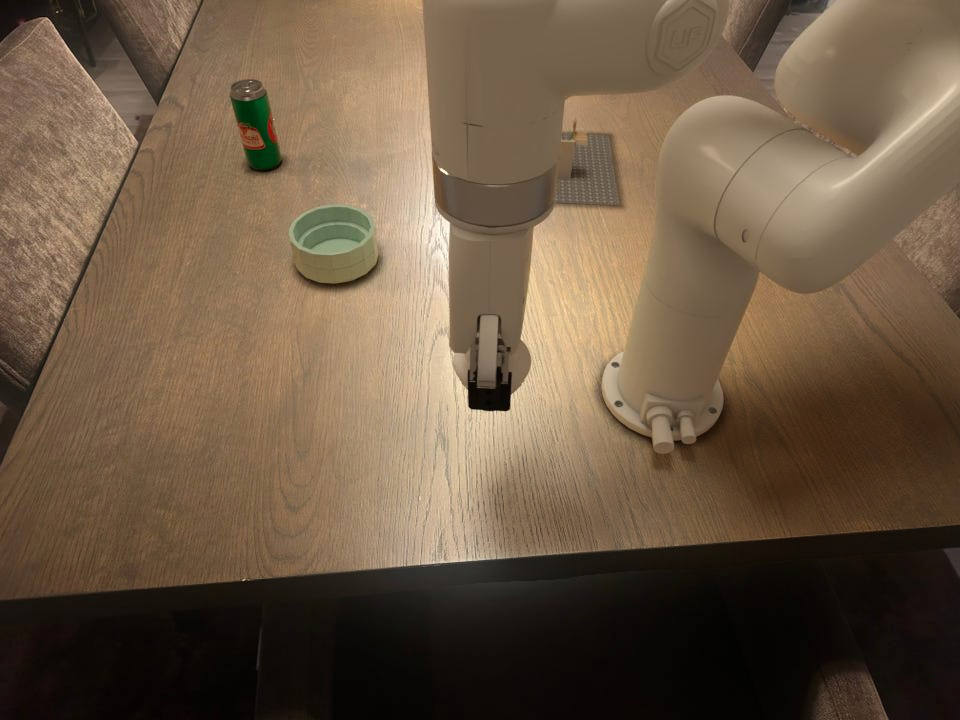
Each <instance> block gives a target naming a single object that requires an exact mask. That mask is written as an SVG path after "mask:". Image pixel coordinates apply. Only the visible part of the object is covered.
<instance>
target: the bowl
mask: <svg viewBox="0 0 960 720" xmlns="http://www.w3.org/2000/svg"><path fill="white" fill-rule="evenodd" d="M287 233H288V238H289V241H290V242H289V243H290V246H291V250H292V255H293V259H294V263H295V268H296V270H297V271H298V272H299V273H300V274H301V275H302V276H304V277H305V278H306V279H309V280H312V281H314V282H317V283H320V284H334V285H335V284H342V283H347V282H352V281H355V280H356V279H358V278H361V277H363V276H365V275H366V274H368V273H369V272H370V271H371V270H372V269H373V268H374V267H375V266H376V265H377V261H378V258H379V245H378V244H379V243H378V235H377V227H376V224H375V220H374V218H373V216H372V215H371V214H369V213H368V212H367V211H365V210H364V209H362V208H359V207H357V206H353V205H350V204H341V203H340V204H338V203H332V204H331V203H330V204H326V205H320V206H316V207H313V208H311V209H309V210H306V211H303V212H302V213H301V214H300V215H298V216H297V217H296V218H295V219H294V220H292V222H291V224H290V225H289V228H288V230H287Z"/></svg>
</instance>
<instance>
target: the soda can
mask: <svg viewBox="0 0 960 720" xmlns="http://www.w3.org/2000/svg"><path fill="white" fill-rule="evenodd" d="M229 99H230V103H231V106H232V110H233V113H234V118H235V122H236V125H237V129H238V132H239V138H240V142H241V144H242V147H243V153H244V156H245V160H246V162H247V165H248V166H249V167H250V168H252V169H254V170H256V171H270V170H273V169H275V168H277V167H278V166H279V165H280V164H281V162H282V159H283V158H282V154H281V148H280V145H279V140H278V136H277V130H276V125H275V122H274V117H273V113H272V112H273V111H272V108H271V103H270V100H269V95H268V90H267V89H266V88H265V87H264V85H263V82H262V81H260V80H258V79H254V78H253V79H252V78H246V79H240V80H237V81H235V82H233V83H231V85H230V92H229Z"/></svg>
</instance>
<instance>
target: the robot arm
mask: <svg viewBox="0 0 960 720" xmlns="http://www.w3.org/2000/svg"><path fill="white" fill-rule="evenodd" d="M421 3H422V17H423V33H424V47H425V49H424V50H425V60H426V61H425V65H426V78H427V79H426V80H427V93H428V94H427V96H428V110H429V129H430V143H431V165H432V181H433V196H434V197H433V198H434V199H433V200H434V205H435V208H436V210H437V212H438V213H439V214H440V216H441V217H442V218H443V219H444V220H445V221H447V222H448V223H449V237H448V308H449V309H448V310H449V311H448V315H449V316H448V317H449V318H448V319H449V320H448V321H449V324H448V325H449V327H448V328H449V331H448V332H449V335H448V337H449V338H448V339H449V340H448V341H449V343H448V344H449V345H448V346H449V348H450V349H451V352H453V353H463V354H466V353H467V352H468V350H469V348H470V370H468V390H467V406H468V409H470V410H473V411H484V412H509V411H510V410H511V402H512V401H511V398H512V395H511V382H512V372H509V353H510V356H512V355H513V354H515V353H516V352H517V351H518V350H519V345H520V339H521V340H522V332H523V327H524V320H525V315H526V306H527V299H528V292H529V283H530V275H531V265H532V254H533V243H534V227H536V226H538V225H539V224H542V223H543V222H544V221H545V220H546V219H548V218H549V216H550V215H551V214H552V213H553V210H554V209H555V205H556V203H555V200H556V188H557V177H558V167H559V155H560V147H561V136H562V134H563V125H564V124H563V123H564V113H565V103H566V101H567V100H568V99H571V98H572V97H584V96H585V97H586V96H604V95H605V96H607V95H611V96H612V95H632V94H633V95H634V94H641V93H647V92H648V93H649V92H653V91H656V90H660V89H663V88H665V87H669V86H670V85H673V84H675V83H677V82H679V81H681V80H683V79H685V78H687V77H688V76H689V75H691V74H692V73H693V72H694V71H695V70H696V69H698V68H699V67H700V66H701V65H702V64H703V63H704V62H705V61H706V60H707V59H708V58H709V56H711V54H712V53H713V51H714V50H715V48H716V47H717V45H718V43H719V42H720V40H721V38H722V35H723V33H724V30H725V29H726V25H727V22H728V18H729V17H728V16H729V12H730V0H422V1H421ZM773 80H774V82H773V87H774V88H773V89H774V92H775V95H776V97H777V100H778V102H779V103H780V105H781V106H782V107H783V108H784V109H785V110H786V111H787V112H788V113H789V114H790V115H791V116H792V117H794V118H795V119H796V120H797V121H799V122H800V123H802V124H804V125H805V126H806V127H808V128H809V129H811V130H813V131H815V132H817V133H819V134H820V135H822V136H823V137H824V138H827V139H829V140H830V141H832V142H833V143H835V144H837V145H839V146H841V147H843V148H845V150H848V151H849V152H852V153H853V154H855V155H857V156H852V155H850V154H849V153H847V152H846V151H844V150H842V149H840V148H839V147H837V146H835V145H834V144H832V143H830V142H828V141H826V140H824V139H822V138H821V137H819V136H817V135H815V134H814V133H813V132H812V131H810V130H809V129H807V128H805V127H804V126H802V125H800V124H799V123H797V122H795V121H793V120H791V119H789V118H788V117H786V116H784V115H783V114H781V113H779V112H777V111H776V110H773V109H772V108H770V107H768V106H766V105H764V104H762V103H760V102H758V101H755V100H751V99H750V98H745V97H743V96H737V95H729V94H728V95H726V94H725V95H722V94H721V95H716V96H710V97H707V98H704V99H702V100H700V101H698V102H695V103H694V104H692V105H691V106H690V107H688V108H687V109H686V110H685V111H683V112H682V113H681V114H680V115H679V116H678V117H677V119H676V120H675V121H674V122H673V124H672V125H671V127H670V128H669V130H668V132H667V133H666V136H665V138H664V140H663V142H662V145H661V147H660V151H659V155H658V159H657V165H656V171H655V199H654V200H655V205H654V207H655V211H654V223H653V230H652V236H651V241H650V246H649V251H648V253H647V254H648V255H647V259H646V262H645V267H644V270H643V274H642V278H641V281H640V285H639V290H638V293H637V297H636V302H635V305H634V309H633V314H632V317H631V320H630V321H631V322H630V326H629V330H628V334H627V338H626V342H625V346H624V350H623V351H622V350H621V351H620V352H618V353H617V354H616V355H614V356H613V357H612V358H611V359H610V360H609V361H608V363H607V364H606V366H605V367H604V370H603V374H602V378H601V384H600V385H601V386H600V389H601V394H602V398H603V401H604V403H605V405H606V407H607V408H608V410H609V411H610V413H611V414H612V415H613V416H614V418H616V419H617V420H618V421H619V422H620V423H621V424H623V425H624V426H626V427H627V428H628V429H630V430H631V431H634V432H636V433H638V434H640V435H643V436H645V437H648V438H651V440H652V449H653V451H654V452H655V453H657V454H661V455H666V454H667V455H668V454H670V453H672V452H673V451H674V450H675V441H681V442H682V443H683V444H684V445H685V444H686V445H691V444H694V443H696V441H697V437H699V436H701V435H703V434H704V433H706V432H708V431H709V430H710V429H711V428H712V427H714V425H715V424H716V422H717V421H718V419H719V418H720V415H721V414H722V410H723V406H724V403H725V399H724V391H723V388H722V385H721V382H720V381H719V376H720V374H721V371H722V369H723V367H724V364H725V362H726V359H727V357H728V355H729V352H730V350H731V348H732V345H733V342H734V340H735V338H736V335H737V333H738V331H739V328H740V325H741V323H742V321H743V319H744V316H745V313H746V311H747V308H748V306H749V304H750V302H751V299H752V297H753V295H754V292H755V290H756V287H757V285H758V281H759V277H760V273H761V274H762V275H764V276H765V277H767V279H769V280H771V281H772V282H773V283H775V284H776V285H778V286H780V287H782V288H783V289H785V290H788V291H790V292H793V293H796V294H803V295H808V294H815V293H819V292H824V291H825V290H828V289H830V288H831V287H833V286H835V285H837V284H839V283H840V282H841V281H843V280H845V279H846V278H847V277H849V276H850V275H851V274H853V273H854V272H855V271H857V270H858V269H859V268H860V267H862V266H863V265H864V264H865V263H866V262H867V261H868V260H870V259H871V258H872V257H874V256H875V255H876V254H877V253H879V252H880V251H881V250H882V249H883V248H884V247H885V246H886V245H887V244H889V243H890V242H891V241H892V240H893V239H895V238H896V237H897V236H898V235H900V234H901V232H903V231H904V230H906V228H908V226H910V225H912V223H913V222H914V221H916V220H917V219H918V218H919V217H920V216H921V215H923V214H924V213H925V212H927V210H929V209H930V208H931V207H932V206H933V205H934V204H935V203H937V202H938V201H939V200H940V199H942V198H943V197H944V196H945V195H946V194H948V192H949V191H951V190H952V189H954V187H956V186H957V185H958V184H959V183H960V0H835V1H834V2H833V3H832V4H831V5H830V6H828V8H826V10H825V11H823V12H822V13H821V14H819V16H818V17H817V18H816V19H815V20H813V22H811V23H810V24H809V25H808V27H806V28H805V29H804V30H803V31H802V32H801V33H800V34H799V36H798V37H797V38H795V40H794V41H793V42H792V43H791V45H790V46H789V47H788V48H787V50H786V51H785V52H784V54H783V56H781V58H780V60H779V62H778V65H777V67H776V70H775V73H774V79H773ZM477 333H479V338H477ZM498 333H500V334H501V338H502V339H498ZM497 352H498V353H502V364H501V366H497Z"/></svg>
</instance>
